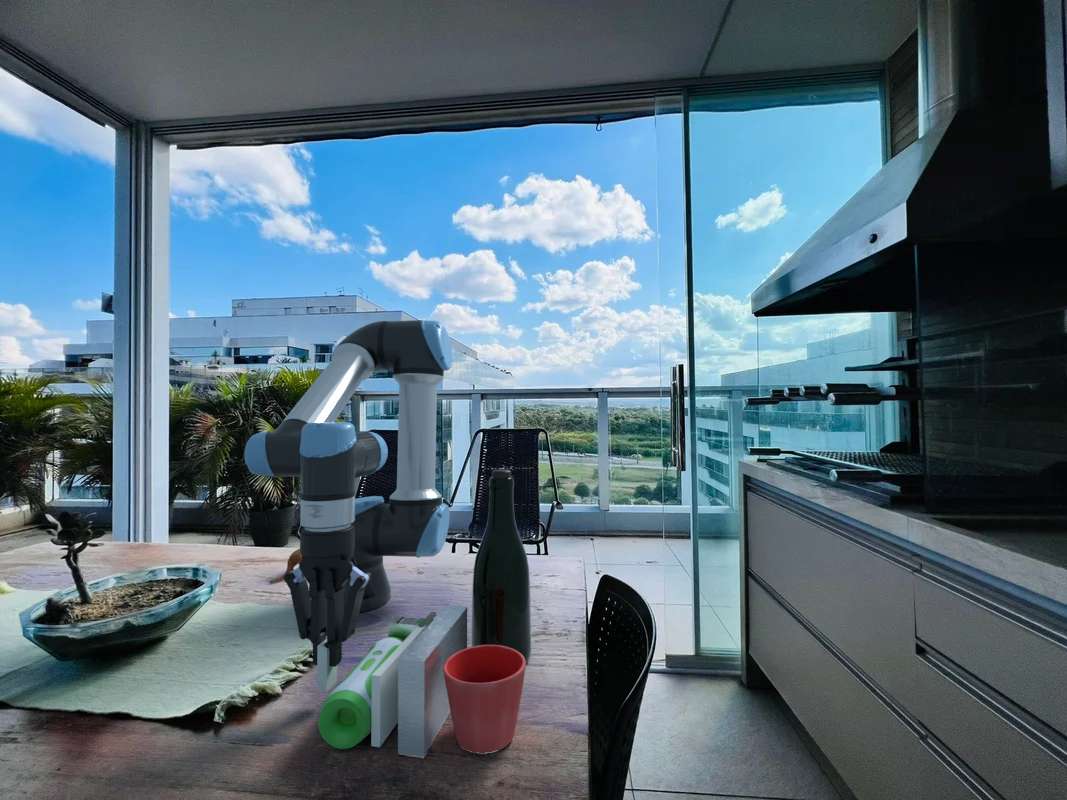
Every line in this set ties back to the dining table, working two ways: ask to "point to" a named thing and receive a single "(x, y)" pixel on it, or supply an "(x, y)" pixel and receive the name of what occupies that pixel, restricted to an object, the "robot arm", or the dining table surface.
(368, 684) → the speaker
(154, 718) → the dining table surface
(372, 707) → the plate
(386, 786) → the dining table surface
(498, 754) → the dining table surface
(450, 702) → the flower pot
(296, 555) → the cat figurine
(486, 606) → the beer bottle
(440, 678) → the frame
